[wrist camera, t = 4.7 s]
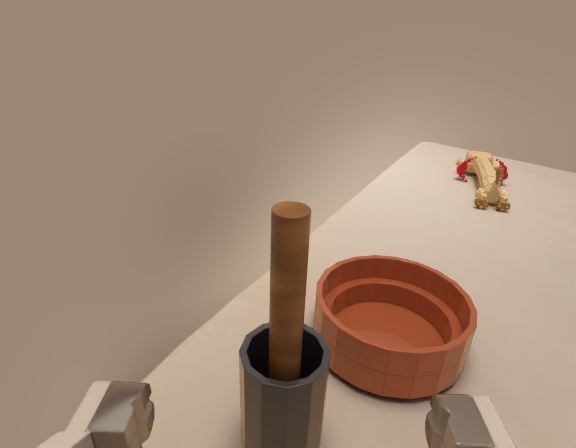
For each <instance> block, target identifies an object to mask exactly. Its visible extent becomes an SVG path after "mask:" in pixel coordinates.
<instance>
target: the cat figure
mask: <svg viewBox="0 0 576 448" xmlns="http://www.w3.org/2000/svg"><path fill="white" fill-rule="evenodd" d="M496 161H498V159H496ZM492 163H493V156H492V155H491V153H487V152H478V151H469V152H467V155H466V159H465V161H463V160H457V161H456V165H458V166H457V173H458V174H459V177H462V178H461V179H463V180H464V179H465V176H462V175H463V174H464V173H465V171H466V172H470V173H476V174H477V176H478V180H479V183H480V188H479V189H478V190H477V191H476V194H475V197H476V198H477V199H476V200H475V205H477V207H478V209H483V208H484V207H488V204H489V203H495V202H497V203H496V208H498V210H499V212H505V209H507V210H509V208H510V203H508V200H509V198H508V197H507V195H506V193H505V191H500V186H501V185H502V182H503V180H505V179H507V177H508V174H507V167H506V166H504V165H503V164H504V163H502V162H501V161H499V163H500V165H499V164H492ZM494 170H495V171H496V173H495V171H494ZM465 182H467V180H465Z"/></svg>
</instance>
